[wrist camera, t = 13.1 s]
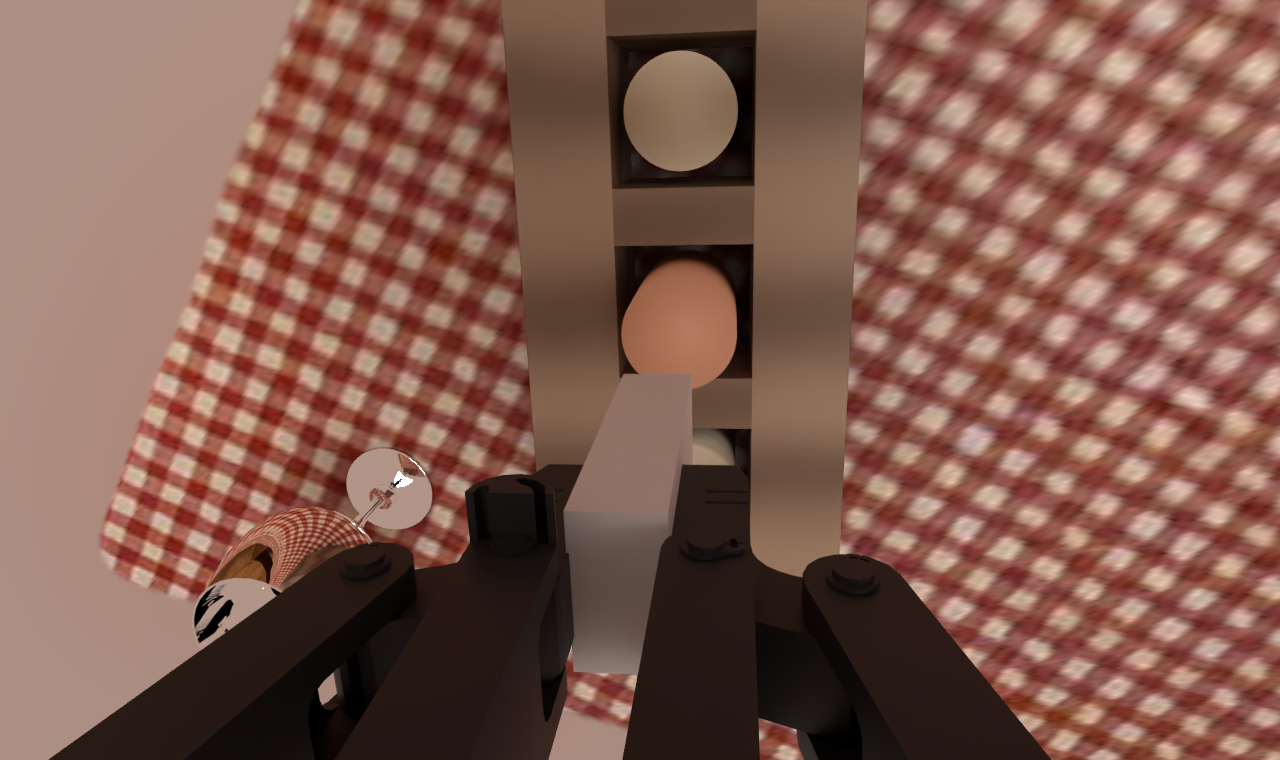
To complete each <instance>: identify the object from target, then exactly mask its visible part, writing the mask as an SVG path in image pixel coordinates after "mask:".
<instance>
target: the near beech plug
mask: <svg viewBox="0 0 1280 760" xmlns="http://www.w3.org/2000/svg"><path fill="white" fill-rule="evenodd" d="M737 116H738V103H737V97H736V93H735V90H734V87H733V85H732V83H731V80H730V79H729V77H728V76H727V74H726V73H725V71H724V70H723V69H722V68H721V67H720V66H719V65H718V64H717V63H716V62H714V61H713V60H711V59H710V58H708V57H706V56H704V55H702V54H699V53H696V52H691V51H672V52H668V53H664V54H662V55H659V56H657V57H655V58H653V59H652V60H650V61H649V62H648V63H646V64H645V65H644V66H643V67H642V68H641V69H640V70H639V71H638V72H637V74H636V75H635V76H634V78H633V79H632V81H631V83H630V85H629V87H628V90H627V93H626V96H625V101H624V123H625V127H626V131H627V134H628V137H629V139H630V141H631V142H632V144H633V146H634V147H635V149H636V150H637V151H638V152H639V153H640V154H641V156H643V157H644V158H645V159H646V160H647V161H649V162H650V163H652V164H654V165H656V166H658V167H660V168H663V169H666V170H671V171H689V170H693V169H697V168H699V167H702V166H704V165H706V164H708V163H710V162H711V161H712V160H714V159H715V158H716V157H717V156H718V155H719V154H721V152H722V151H723V150H724V149H725V148H726V146H727V145H728V143H729V141H730V140H731V137H732V135H733V133H734V130H735V127H736V123H737Z"/></svg>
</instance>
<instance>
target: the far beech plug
mask: <svg viewBox="0 0 1280 760" xmlns="http://www.w3.org/2000/svg"><path fill="white" fill-rule="evenodd" d="M692 448H693V465H735V433H734V429H726V428H692Z"/></svg>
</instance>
